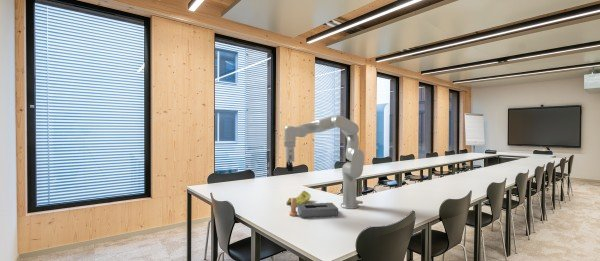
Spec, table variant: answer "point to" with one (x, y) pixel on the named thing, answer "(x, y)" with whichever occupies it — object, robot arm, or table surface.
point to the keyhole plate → (317, 210)
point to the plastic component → (301, 198)
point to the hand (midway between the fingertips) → (289, 169)
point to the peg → (293, 207)
